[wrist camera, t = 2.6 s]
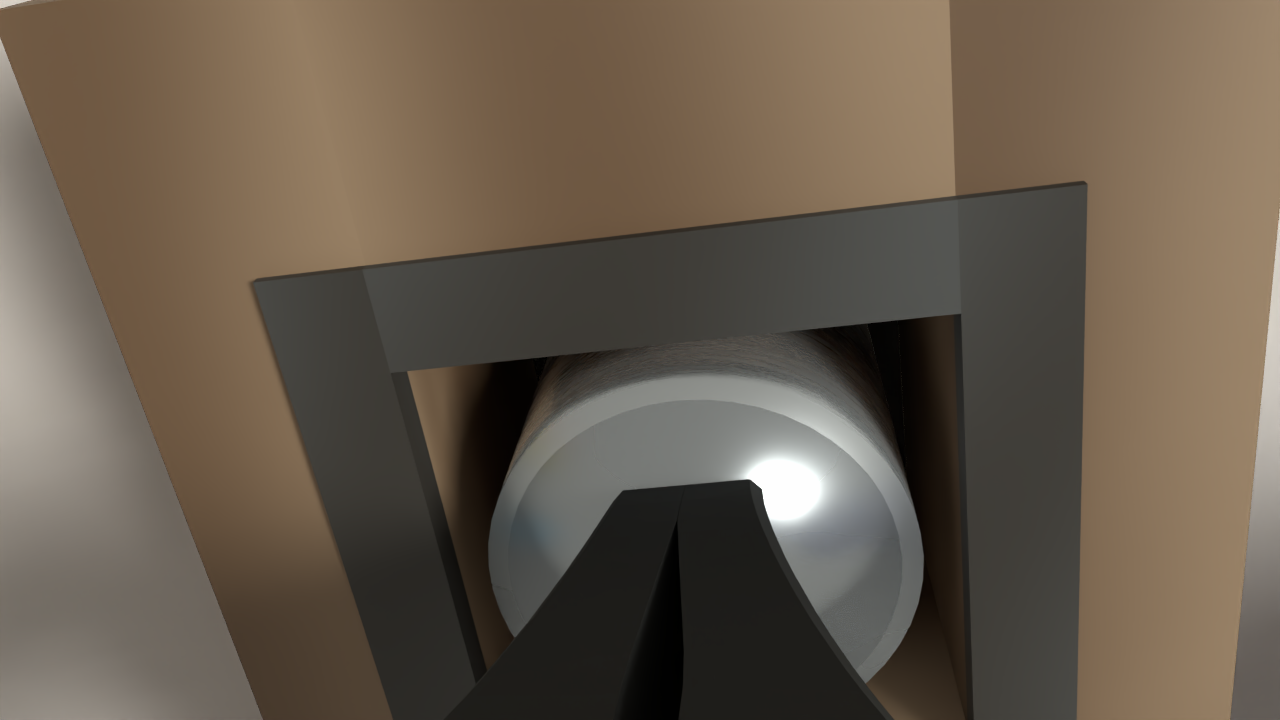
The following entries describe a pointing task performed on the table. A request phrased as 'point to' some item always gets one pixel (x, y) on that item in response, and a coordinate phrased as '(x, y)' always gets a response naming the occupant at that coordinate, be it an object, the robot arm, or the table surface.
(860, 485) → the steel peg
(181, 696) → the table surface
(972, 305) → the wooden block
